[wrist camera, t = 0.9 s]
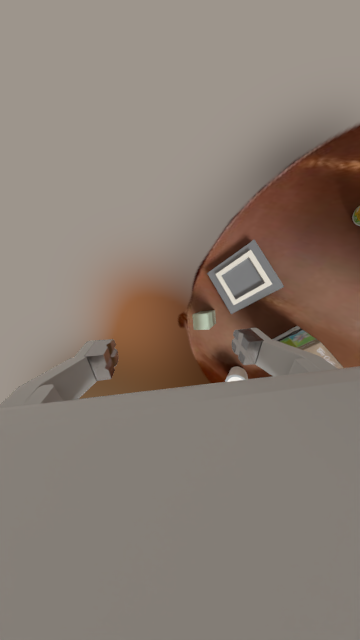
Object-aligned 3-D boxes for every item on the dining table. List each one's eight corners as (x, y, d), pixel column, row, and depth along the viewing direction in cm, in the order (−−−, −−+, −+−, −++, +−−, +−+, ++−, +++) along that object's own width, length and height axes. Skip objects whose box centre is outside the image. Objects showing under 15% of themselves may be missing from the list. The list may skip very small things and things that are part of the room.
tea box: (263, 343, 44) (270, 363, 31) (297, 324, 40) (322, 339, 26) (297, 384, 42) (320, 425, 29) (336, 370, 38) (385, 410, 24)
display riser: (253, 243, 41) (254, 237, 37) (281, 287, 40) (285, 286, 36) (209, 274, 48) (206, 272, 44) (232, 313, 46) (230, 314, 43)
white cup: (223, 369, 50) (220, 379, 44) (241, 361, 48) (240, 371, 41) (234, 386, 50) (233, 399, 44) (253, 379, 47) (254, 392, 41)
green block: (214, 310, 49) (207, 313, 40) (215, 323, 49) (209, 329, 40) (202, 311, 51) (192, 314, 42) (202, 323, 51) (193, 329, 42)
